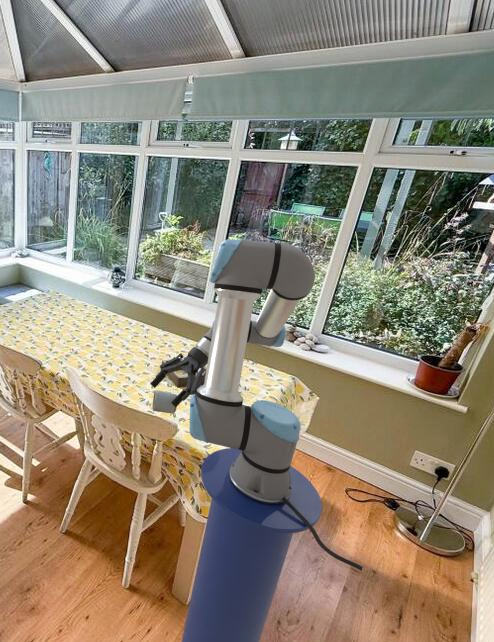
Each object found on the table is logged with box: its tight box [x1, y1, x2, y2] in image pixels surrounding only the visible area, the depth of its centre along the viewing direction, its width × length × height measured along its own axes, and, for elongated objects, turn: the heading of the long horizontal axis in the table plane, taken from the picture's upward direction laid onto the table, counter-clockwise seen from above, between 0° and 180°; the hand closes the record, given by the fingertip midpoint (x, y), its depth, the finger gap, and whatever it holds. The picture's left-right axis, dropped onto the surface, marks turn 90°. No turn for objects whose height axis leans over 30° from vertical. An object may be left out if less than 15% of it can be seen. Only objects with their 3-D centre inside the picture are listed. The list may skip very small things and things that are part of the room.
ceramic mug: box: [151, 389, 178, 414], centre depth 150 cm, size 11×8×8 cm
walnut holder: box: [161, 359, 207, 388], centre depth 174 cm, size 16×16×5 cm
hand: (162, 395), depth 150 cm, fingers open, 13 cm apart
